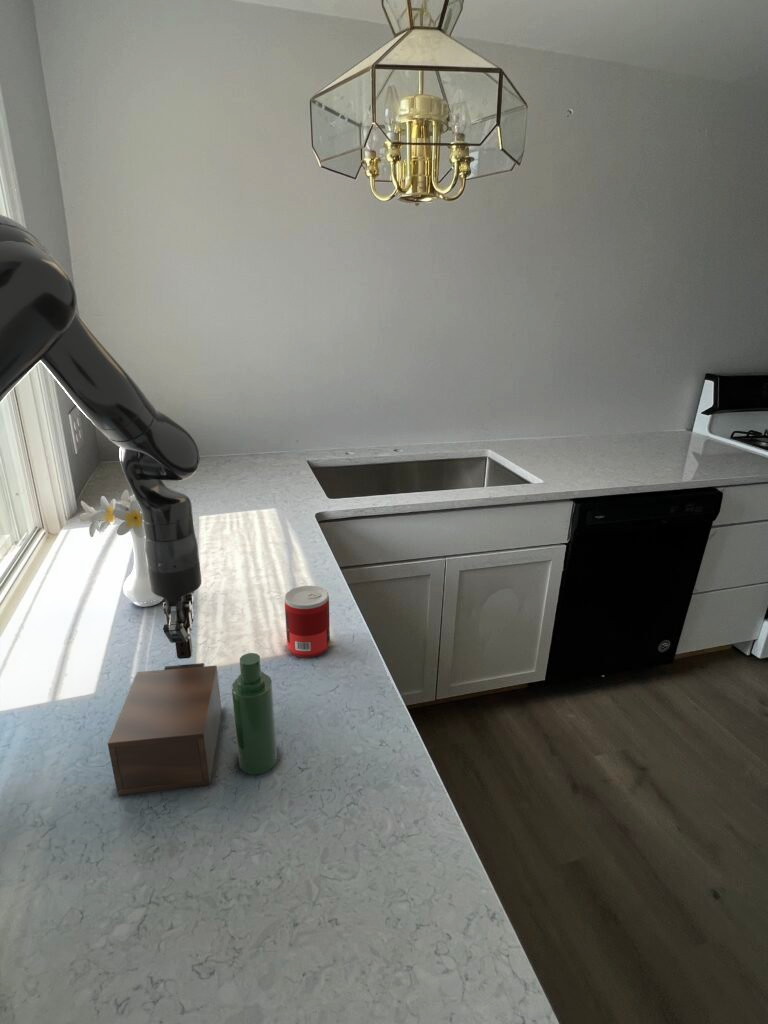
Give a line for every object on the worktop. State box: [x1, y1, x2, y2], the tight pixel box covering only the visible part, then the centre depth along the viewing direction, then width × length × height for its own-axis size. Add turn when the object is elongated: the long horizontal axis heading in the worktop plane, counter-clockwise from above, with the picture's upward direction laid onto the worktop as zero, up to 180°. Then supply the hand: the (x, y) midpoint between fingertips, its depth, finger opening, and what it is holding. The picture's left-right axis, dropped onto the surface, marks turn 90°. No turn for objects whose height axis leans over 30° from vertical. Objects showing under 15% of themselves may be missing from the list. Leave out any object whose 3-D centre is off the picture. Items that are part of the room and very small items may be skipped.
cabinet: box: [107, 665, 223, 796], centre depth 79 cm, size 15×12×9 cm
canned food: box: [284, 585, 331, 659], centre depth 102 cm, size 8×8×11 cm
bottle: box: [231, 652, 278, 776], centre depth 75 cm, size 5×5×17 cm
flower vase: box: [79, 489, 165, 608], centre depth 115 cm, size 13×18×25 cm
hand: (185, 655), depth 91 cm, fingers closed
